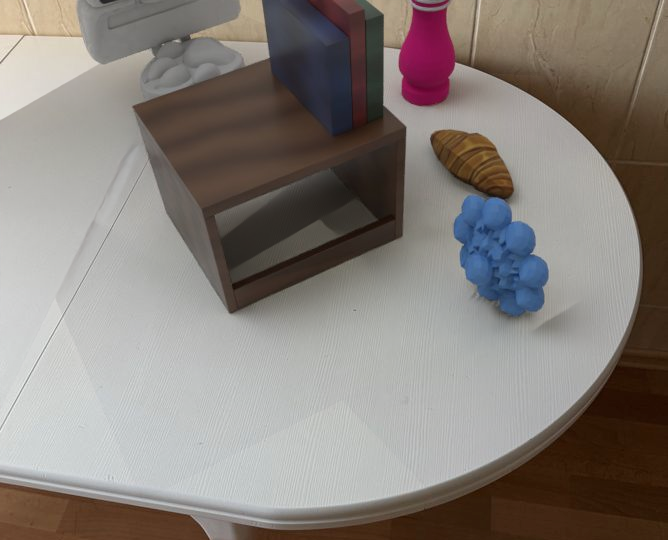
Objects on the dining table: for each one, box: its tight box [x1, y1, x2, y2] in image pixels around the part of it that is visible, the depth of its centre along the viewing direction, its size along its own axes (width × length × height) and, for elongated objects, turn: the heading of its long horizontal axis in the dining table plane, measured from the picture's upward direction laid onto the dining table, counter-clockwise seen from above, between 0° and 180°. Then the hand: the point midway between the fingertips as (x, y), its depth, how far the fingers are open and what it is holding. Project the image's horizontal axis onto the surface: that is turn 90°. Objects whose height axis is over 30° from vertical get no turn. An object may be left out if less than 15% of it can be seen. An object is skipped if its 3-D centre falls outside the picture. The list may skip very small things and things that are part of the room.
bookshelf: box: [131, 0, 408, 314], centre depth 69 cm, size 18×21×25 cm
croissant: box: [429, 128, 515, 201], centre depth 81 cm, size 14×7×5 cm, turn 34°
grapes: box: [452, 194, 550, 317], centre depth 66 cm, size 12×7×12 cm, turn 38°
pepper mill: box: [397, 0, 456, 107], centre depth 85 cm, size 7×7×20 cm
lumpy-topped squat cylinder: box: [139, 36, 246, 102], centre depth 89 cm, size 10×13×9 cm
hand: (176, 69), depth 94 cm, fingers closed
